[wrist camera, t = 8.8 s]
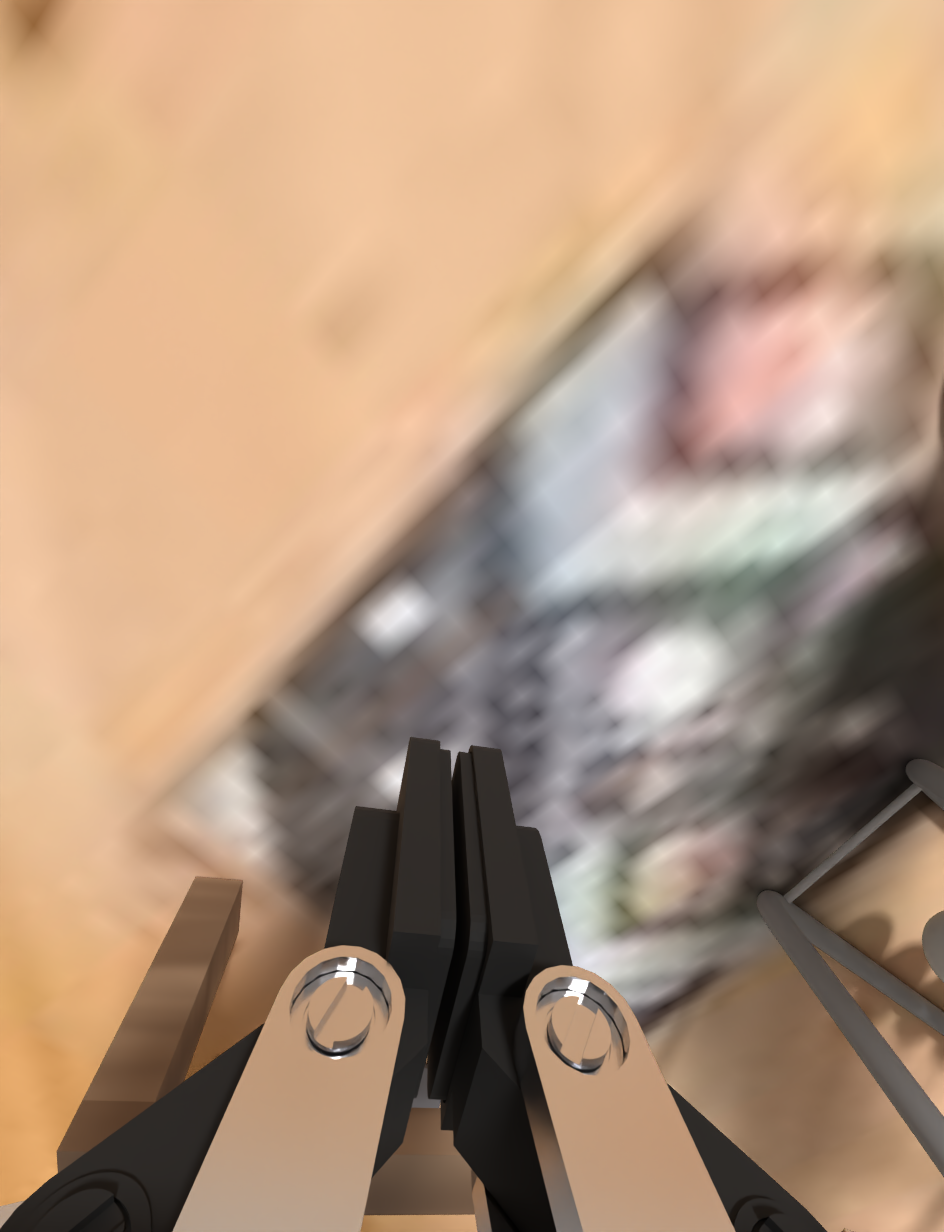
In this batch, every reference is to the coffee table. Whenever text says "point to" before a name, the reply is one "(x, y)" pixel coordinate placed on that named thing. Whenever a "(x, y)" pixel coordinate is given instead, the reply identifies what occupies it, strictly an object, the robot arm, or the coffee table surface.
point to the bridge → (167, 1038)
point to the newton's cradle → (869, 973)
